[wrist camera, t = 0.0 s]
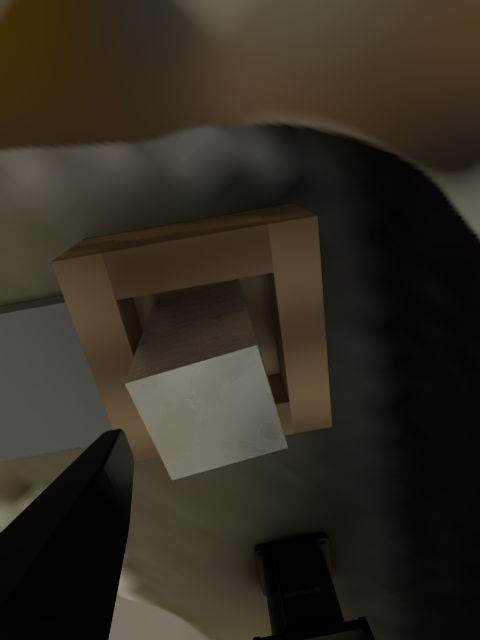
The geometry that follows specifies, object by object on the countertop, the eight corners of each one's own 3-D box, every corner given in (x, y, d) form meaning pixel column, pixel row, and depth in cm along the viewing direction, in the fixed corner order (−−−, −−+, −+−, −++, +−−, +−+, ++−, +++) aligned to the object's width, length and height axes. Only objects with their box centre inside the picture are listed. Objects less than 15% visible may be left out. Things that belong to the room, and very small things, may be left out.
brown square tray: (309, 379, 26) (332, 426, 22) (140, 410, 26) (126, 464, 21) (293, 203, 21) (317, 215, 17) (84, 239, 21) (50, 262, 17)
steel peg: (261, 354, 23) (287, 447, 15) (182, 377, 23) (172, 480, 16) (238, 278, 21) (257, 345, 13) (152, 304, 21) (124, 383, 14)
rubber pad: (129, 424, 26) (125, 438, 25) (-12, 449, 26) (-24, 465, 25) (83, 291, 22) (75, 300, 21) (-84, 321, 22) (-103, 331, 21)
